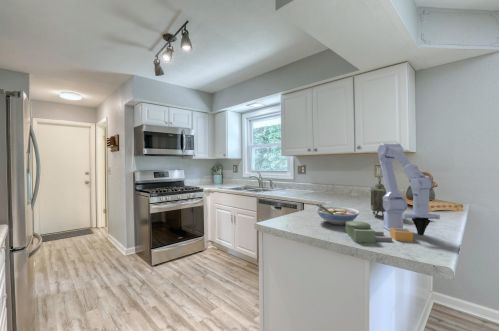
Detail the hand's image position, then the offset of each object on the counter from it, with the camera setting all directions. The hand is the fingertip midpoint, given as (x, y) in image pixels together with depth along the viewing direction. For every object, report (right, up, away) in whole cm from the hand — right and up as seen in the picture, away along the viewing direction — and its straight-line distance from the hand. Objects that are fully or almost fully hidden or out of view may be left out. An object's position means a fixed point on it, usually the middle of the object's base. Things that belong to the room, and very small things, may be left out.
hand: (420, 234), depth 107 cm
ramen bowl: (-27, -2, +27) cm, 38 cm away
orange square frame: (-8, -2, +1) cm, 8 cm away
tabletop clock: (+6, -1, +45) cm, 45 cm away
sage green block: (-23, -2, +3) cm, 23 cm away
